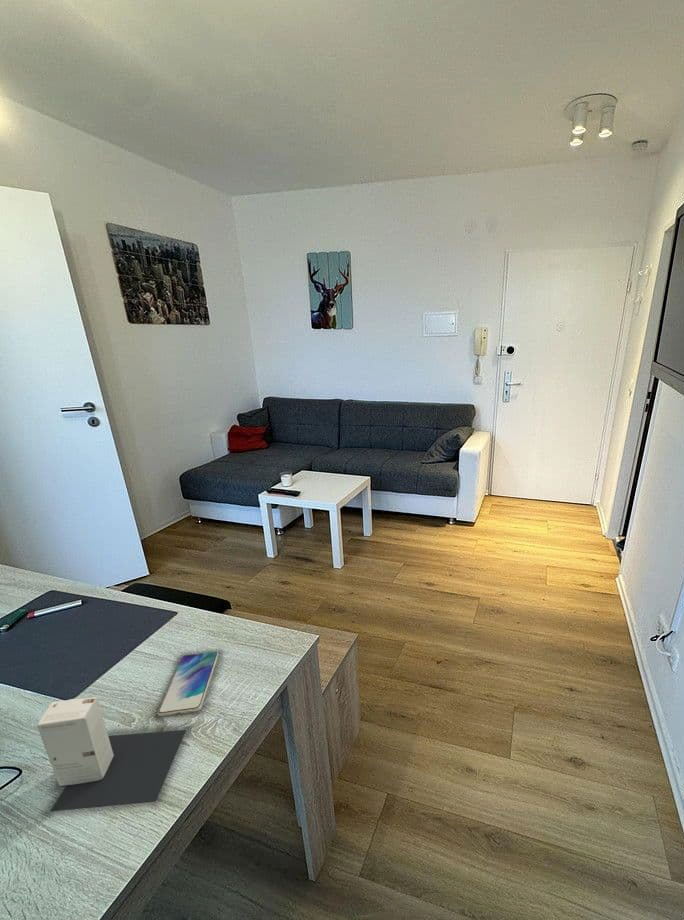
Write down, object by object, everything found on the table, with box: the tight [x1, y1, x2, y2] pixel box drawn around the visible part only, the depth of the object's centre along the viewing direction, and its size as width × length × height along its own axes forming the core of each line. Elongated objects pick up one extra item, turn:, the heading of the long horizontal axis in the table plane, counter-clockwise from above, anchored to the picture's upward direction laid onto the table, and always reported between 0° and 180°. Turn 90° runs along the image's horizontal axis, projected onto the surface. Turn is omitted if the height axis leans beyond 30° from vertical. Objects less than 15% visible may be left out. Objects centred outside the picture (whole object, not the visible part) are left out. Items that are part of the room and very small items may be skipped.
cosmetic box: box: [36, 696, 114, 787], centre depth 63 cm, size 6×4×12 cm
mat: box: [49, 729, 187, 812], centre depth 66 cm, size 14×12×1 cm
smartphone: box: [157, 651, 219, 717], centre depth 82 cm, size 7×1×15 cm
